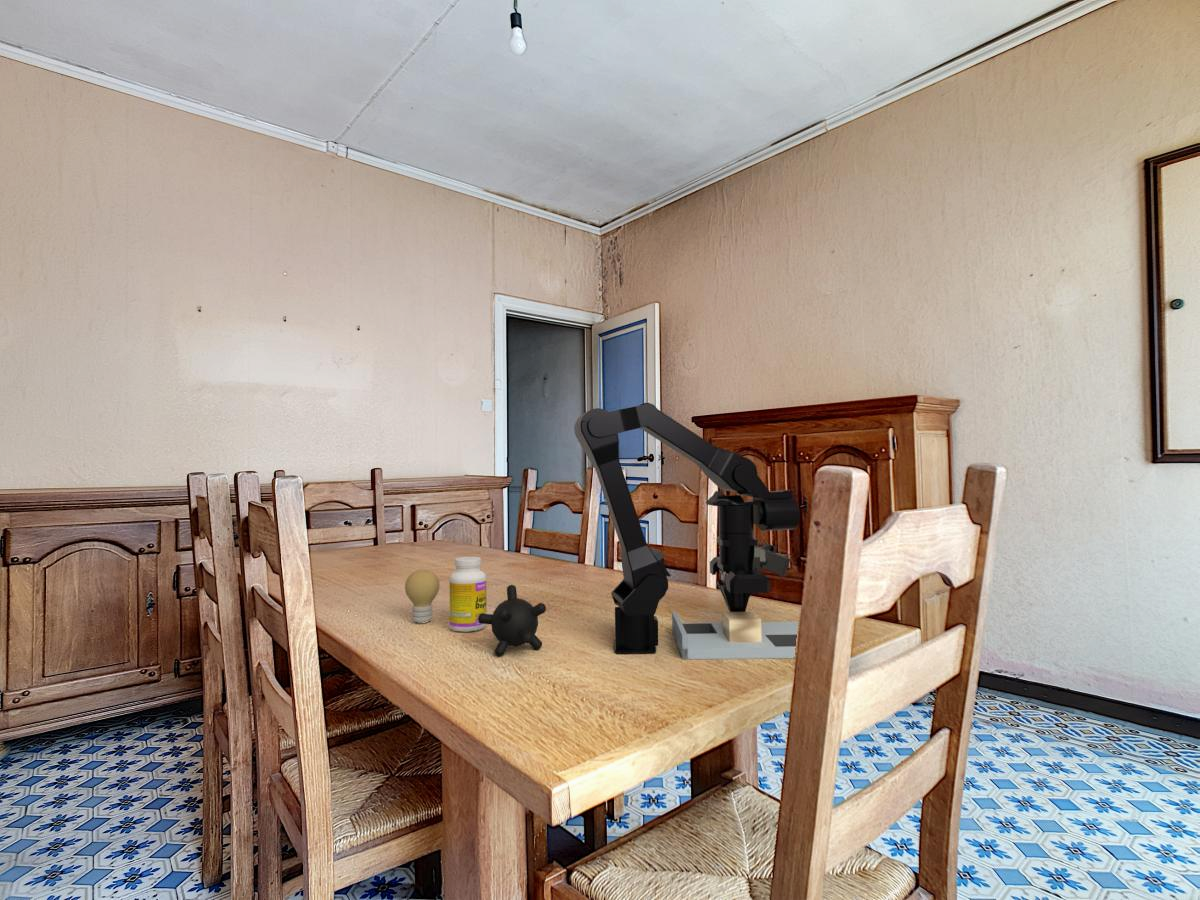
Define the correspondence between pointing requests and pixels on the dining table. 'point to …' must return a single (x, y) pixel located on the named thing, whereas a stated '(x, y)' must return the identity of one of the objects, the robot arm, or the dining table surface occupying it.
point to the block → (742, 627)
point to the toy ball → (514, 622)
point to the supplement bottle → (467, 595)
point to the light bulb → (422, 593)
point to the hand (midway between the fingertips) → (738, 625)
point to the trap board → (714, 644)
